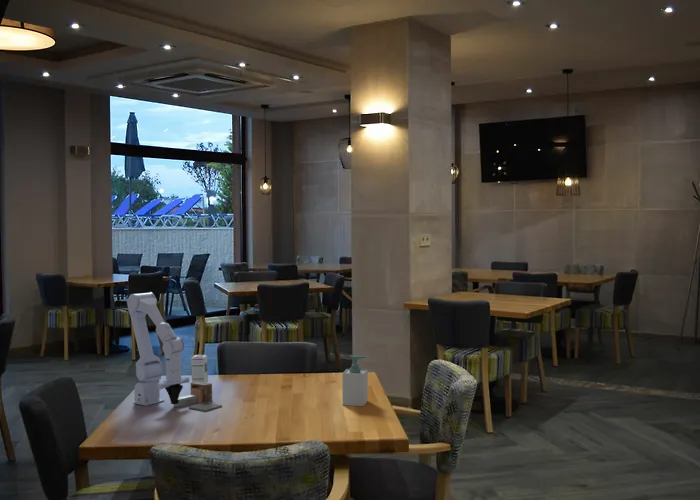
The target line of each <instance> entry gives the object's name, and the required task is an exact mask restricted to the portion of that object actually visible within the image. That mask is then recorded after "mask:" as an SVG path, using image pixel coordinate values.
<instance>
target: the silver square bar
mask: <svg viewBox="0 0 700 500" xmlns="http://www.w3.org/2000/svg"><path fill="white" fill-rule="evenodd" d="M196 403H197V404H198V403H199V402H198V395H196V394H191V393H189V394H186V395H183V396H180V397H178V401H177V404H173V407H175V408H182V407H185V406H189V405H193V404H196Z"/></svg>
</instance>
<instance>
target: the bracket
mask: <svg viewBox="0 0 700 500" xmlns="http://www.w3.org/2000/svg"><path fill="white" fill-rule="evenodd" d="M199 386H200V387H203V397H204V401H203V403H204V402H209V401H213V383H211V382H208V383H206V382H200V381H196V382H192V381H191V382H190V389H191V388H195V387H199Z"/></svg>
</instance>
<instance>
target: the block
mask: <svg viewBox="0 0 700 500" xmlns="http://www.w3.org/2000/svg"><path fill="white" fill-rule="evenodd" d="M190 394H196V395H198V402H197V403H204V397H203V387H200V386H199V387H195V388H191V387H190Z"/></svg>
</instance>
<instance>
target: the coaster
mask: <svg viewBox="0 0 700 500" xmlns="http://www.w3.org/2000/svg"><path fill="white" fill-rule="evenodd" d="M220 408H223V404H217V403H212V402H209V401H207V402H204V401H203V402H200V403H197V404H194V405H191V406H188V409H190V410H194V411H195V410H196V411H200V412H204V413H206V412H210V411H213V410H217V409H220Z"/></svg>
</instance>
